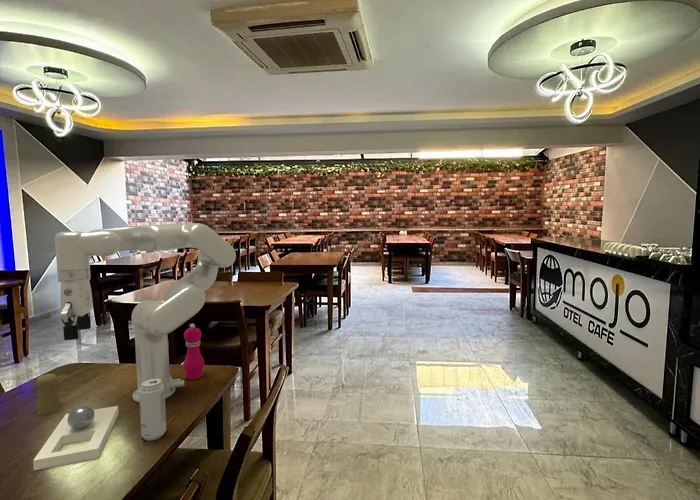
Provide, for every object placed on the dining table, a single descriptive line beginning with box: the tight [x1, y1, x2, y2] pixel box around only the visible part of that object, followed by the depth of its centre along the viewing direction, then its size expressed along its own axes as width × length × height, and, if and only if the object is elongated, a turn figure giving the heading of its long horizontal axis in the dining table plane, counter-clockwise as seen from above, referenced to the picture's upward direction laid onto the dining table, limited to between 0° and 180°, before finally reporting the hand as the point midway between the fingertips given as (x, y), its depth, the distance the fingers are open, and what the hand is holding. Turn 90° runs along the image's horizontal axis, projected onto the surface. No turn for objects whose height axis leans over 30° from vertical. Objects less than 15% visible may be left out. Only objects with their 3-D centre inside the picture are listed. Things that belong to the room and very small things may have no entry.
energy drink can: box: [138, 378, 167, 442], centre depth 102 cm, size 6×6×15 cm
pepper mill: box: [182, 323, 205, 380], centre depth 138 cm, size 7×7×20 cm
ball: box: [67, 404, 95, 430], centre depth 101 cm, size 6×6×6 cm
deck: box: [32, 405, 119, 471], centre depth 101 cm, size 13×22×2 cm, turn 21°
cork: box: [34, 373, 62, 416], centre depth 115 cm, size 6×6×11 cm
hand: (78, 334), depth 109 cm, fingers open, 9 cm apart
